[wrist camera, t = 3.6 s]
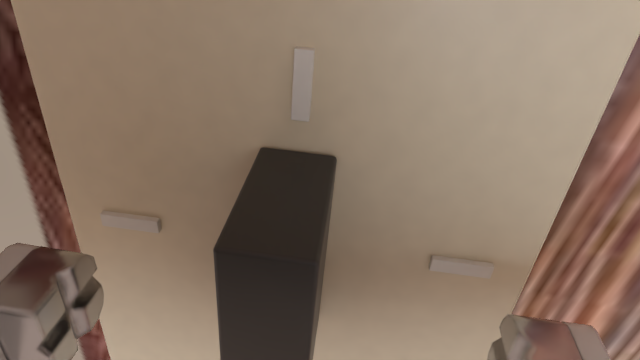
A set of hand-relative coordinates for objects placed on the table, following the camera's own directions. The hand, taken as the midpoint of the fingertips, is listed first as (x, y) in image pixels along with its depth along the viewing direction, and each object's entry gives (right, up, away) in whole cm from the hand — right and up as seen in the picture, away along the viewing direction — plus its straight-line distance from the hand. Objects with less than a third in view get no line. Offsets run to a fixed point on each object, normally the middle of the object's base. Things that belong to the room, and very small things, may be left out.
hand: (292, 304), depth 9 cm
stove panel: (0, +3, +4) cm, 5 cm away
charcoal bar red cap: (0, +1, +2) cm, 2 cm away
